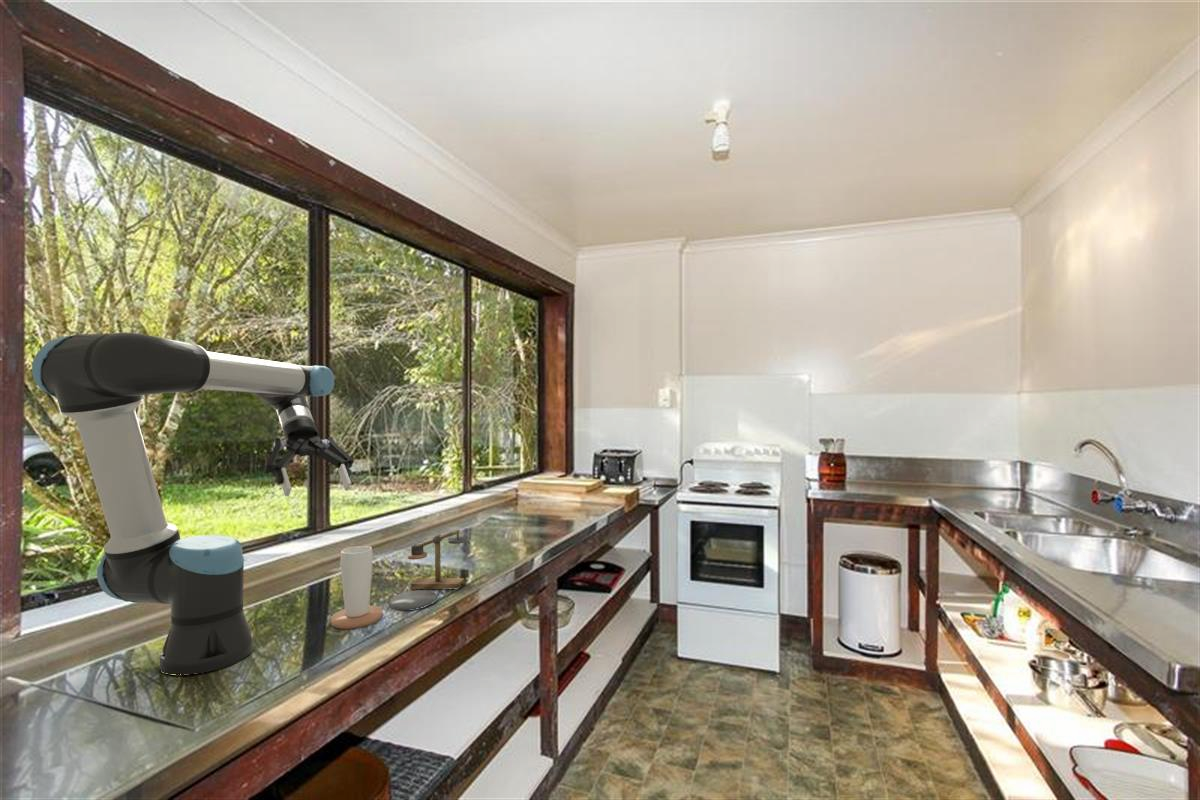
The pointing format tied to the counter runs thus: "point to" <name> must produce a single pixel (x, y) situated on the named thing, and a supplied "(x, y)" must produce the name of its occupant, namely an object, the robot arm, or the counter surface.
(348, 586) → the drinking glass
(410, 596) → the charcoal dish
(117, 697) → the counter surface
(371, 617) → the pink oval pebble
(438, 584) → the balance
